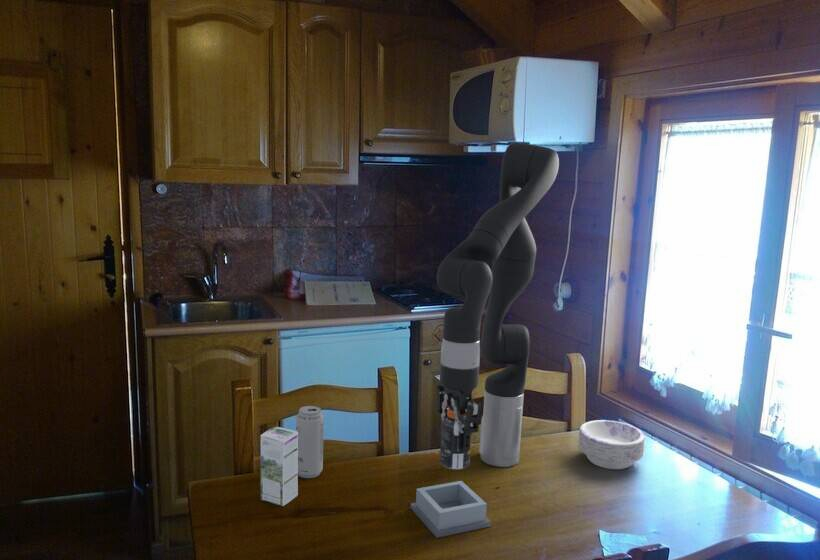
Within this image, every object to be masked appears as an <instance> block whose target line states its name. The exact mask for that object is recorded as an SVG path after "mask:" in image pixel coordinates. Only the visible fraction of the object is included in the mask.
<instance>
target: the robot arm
mask: <svg viewBox="0 0 820 560" xmlns="http://www.w3.org/2000/svg"><path fill="white" fill-rule="evenodd" d="M559 167H560V159H559V155H558V153H557V151H556V150H554V149H552V148H550V147H547V146H543V145H542V146H541V145H536V144H535V145H534V144H529V143H525V142H517V141H515V142H512V143H510V144H509V145H508V146H507V147H506V149H505V151H504V153H503V157H502V162H501V167H500V169H501V170H500V185H499V202H498V203H496V204H495V205H493V206H492V207H491V208H489V209H487V211H485V212H484V213H483V214H482V215H481V217H480V218H479V220H478V221H477V223H476V224H475V225H474V227H473V229H472V230H471V232H470V233H469V235H468V236H467V238H466V239H464V240H463V241H462V242H460V244H458V245H457V246H456V247H455V248H454V249H453V250H452V251H451V252H449V253H448V254H447V255H446V256H445V258H444V259H443V260H442V261H441V262H440V264H439V266H438V269H437V273H436V284H437V285H438V288H439V289H440V290H441V291H442V292H443V293H445V294H448V295H449V294H450V295H454V296H460V297H465V300H464V302H463V305H462V306H452V307H448V308H447V309H446V310H445V312H444V316H443V331H442V332H443V334H442V342H441V349H440V365H439V384H437V385H436V410H437V411H436V412H437V414H438V415H440V417H441V420H442V421H443V419H444V418H446V417H448V416H447V410H448V408H450V409H452V410H453V411H454V415H455V420H456V421H457V422H458V426H459V443H458V450H460V451H461V452H463V451H468V450H469V449H470V440H471V441H472V434H474V433H478V432H479V428H480V436H479V449H478V450H479V452H478V454H480V455H479V457H480V460H481V461H482V462H484V463H485V464H486V465H490V466H494V467H500V468H509V467H513V466H516V465H517V464H518V463H519V461H520V449H521V438H522V424H523V423H522V422H523V410H524V396H525V393H524V392H525V386H526V381H527V370H528V363H529V356H530V347H531V346H530V345H531V343H530V342H531V339H530V331H529V329H528V328H527V327H526V326H525V325H523V324H503V321H504V318H505V316H506V314H507V312H508V310H509V308H510V307H511V306H512V304H513V303H514V302H515V301H516V299H517V298H518V297H519V296H520V295H521V293H523V292H524V290H525V289H526V287H527V286H528V284H529V283H530V282H531V280H532V278H533V275H534V271H535V270H534V269H535V264H536V256H537V245H536V240H535V238H534V236H533V233H532V230H531V229H530V226H529V223H528V221H527V220H526V217H527V215H528V214H529V213H531V211H532V210H533V209H534V208H535V206H537V204H538V203H539V202H540V200H541V199H543V198H544V196H545V195H546V194H547V193H548V191H549V190H550V188H551V187H552V185H554V182H555V181H556V177H557V175H558V173H559ZM488 264H492V265H491V266H492V267H491V268H490V266H489V265H488ZM487 300H488V301H487ZM486 304H487V307H486ZM485 308H486V311H484V310H485ZM484 312H485V317H484V318H485V319H484V323H483V327H482V333H481V323H482V321H481V320H482V316H483V313H484ZM480 358H482V360H483V362H484V363H487V364H491V365H506V367H504V368H503V369H501V370H500V371H497V372H495V373H492V374H490V375H487V377H486V379H485V382H484V396H483V413H482V403H480V402H479V403H475V402H474V397H473V391H474V389H476V388H477V387H478V386H479V379H480V364H481V363H480V362H481V359H480ZM481 413H482V414H483V415H482V416H481ZM460 414H466V416H463V417H461V416H460ZM464 420H465V426H464V425H463V421H464ZM480 421H481V422H480ZM471 433H472V434H471Z"/></svg>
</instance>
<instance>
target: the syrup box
mask: <svg viewBox="0 0 820 560" xmlns="http://www.w3.org/2000/svg"><path fill="white" fill-rule="evenodd" d="M298 478H299V475H298V432H297V431H296V430H293V429H289V428H284V427H280V426H274V427H272V428H269V429H268V430H266V431H265V432H263V433H262V434H260V501H263V502H266V503H268V504H269V503H270V504H273V505H277V506H280V507H284V506H285V505H287V504H289V503H290V502H291V501H293V500H294V499H295V498H297V497H298V495H299V487H298V486H299V483H298V482H299V481H298V480H299V479H298Z"/></svg>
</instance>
